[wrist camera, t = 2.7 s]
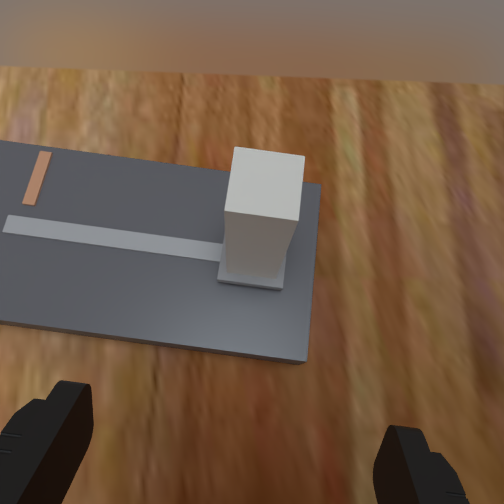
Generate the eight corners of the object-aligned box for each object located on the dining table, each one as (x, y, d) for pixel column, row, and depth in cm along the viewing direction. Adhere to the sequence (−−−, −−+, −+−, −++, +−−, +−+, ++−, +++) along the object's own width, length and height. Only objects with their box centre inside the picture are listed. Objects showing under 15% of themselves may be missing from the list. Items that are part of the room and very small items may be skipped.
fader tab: (288, 230, 27) (317, 147, 17) (281, 290, 25) (310, 234, 16) (227, 222, 27) (224, 134, 17) (217, 281, 25) (209, 220, 16)
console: (313, 203, 31) (321, 183, 28) (299, 364, 27) (307, 361, 24) (13, 162, 31) (-10, 137, 28) (-44, 318, 27) (-78, 309, 24)
